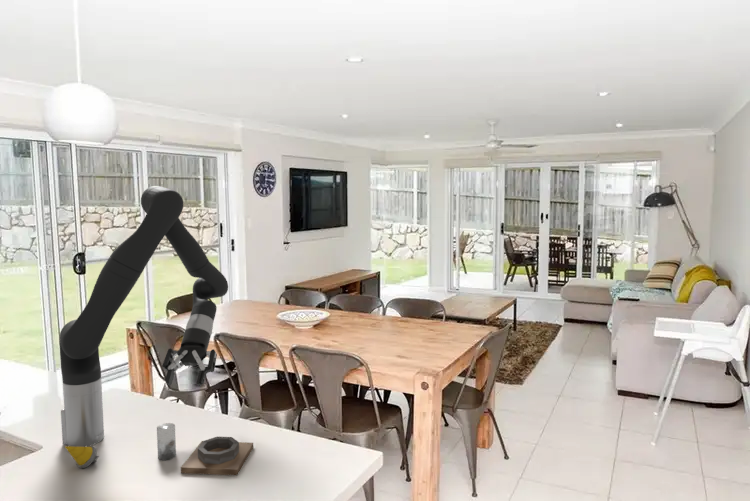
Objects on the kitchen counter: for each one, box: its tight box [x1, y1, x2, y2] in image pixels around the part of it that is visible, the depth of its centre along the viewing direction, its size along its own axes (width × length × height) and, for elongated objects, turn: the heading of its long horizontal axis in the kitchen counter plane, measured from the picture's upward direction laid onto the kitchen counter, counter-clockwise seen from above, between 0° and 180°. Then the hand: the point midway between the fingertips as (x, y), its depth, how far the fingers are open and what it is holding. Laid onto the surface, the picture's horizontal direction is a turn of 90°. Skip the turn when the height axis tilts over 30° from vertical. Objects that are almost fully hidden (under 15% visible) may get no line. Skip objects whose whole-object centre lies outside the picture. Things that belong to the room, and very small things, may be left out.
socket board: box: [180, 436, 254, 476], centre depth 139 cm, size 14×14×4 cm
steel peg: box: [156, 422, 177, 461], centre depth 141 cm, size 4×4×8 cm
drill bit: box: [64, 445, 100, 469], centre depth 135 cm, size 5×5×10 cm
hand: (183, 384), depth 151 cm, fingers open, 8 cm apart
